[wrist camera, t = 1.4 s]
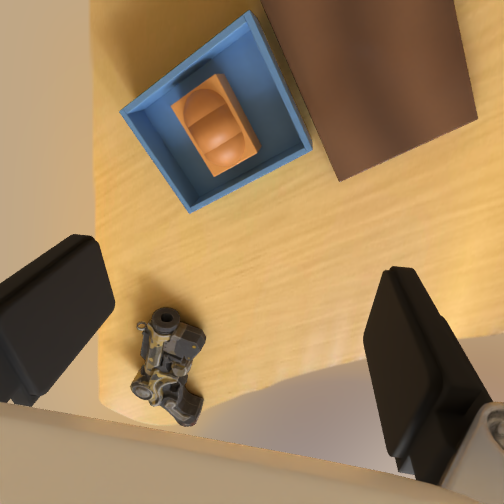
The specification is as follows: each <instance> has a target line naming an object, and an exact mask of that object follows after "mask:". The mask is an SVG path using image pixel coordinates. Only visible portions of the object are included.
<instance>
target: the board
mask: <svg viewBox="0 0 504 504" xmlns="http://www.w3.org/2000/svg"><path fill="white" fill-rule="evenodd" d="M260 1H261V3H262V5H263V8H264V10H265V12H266V15H267V17H268V19H269V21H270V24H271V26H272V28H273V31H274V33H275V35H276V38H277V40H278V42H279V45H280V47H281V49H282V51H283V54H284V56H285V58H286V61H287V63H288V65H289V68H290V70H291V72H292V74H293V77H294V79H295V81H296V84H297V86H298V88H299V91H300V93H301V95H302V97H303V100H304V102H305V104H306V107H307V109H308V111H309V114H310V116H311V118H312V121H313V123H314V125H315V127H316V130H317V132H318V134H319V137H320V139H321V141H322V144H323V146H324V148H325V150H326V153H327V155H328V157H329V160H330V162H331V164H332V167H333V169H334V171H335V173H336V176H337V178H338V180H339V182H341V181H343V180H346V179H348V178H350V177H352V176H354V175H357V174H359V173H361V172H363V171H365V170H367V169H370V168H372V167H374V166H376V165H378V164H381V163H383V162H385V161H387V160H389V159H392V158H394V157H396V156H398V155H400V154H403V153H405V152H407V151H409V150H411V149H413V148H416V147H418V146H420V145H422V144H424V143H427V142H429V141H431V140H433V139H435V138H438V137H440V136H442V135H444V134H446V133H449V132H451V131H453V130H455V129H457V128H459V127H462V126H464V125H466V124H468V123H470V122H473V121H475V120H477V119H478V116H477V111H476V107H475V102H474V97H473V92H472V87H471V83H470V78H469V73H468V68H467V64H466V59H465V54H464V49H463V44H462V40H461V35H460V30H459V25H458V21H457V16H456V11H455V6H454V1H453V0H260Z"/></svg>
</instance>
